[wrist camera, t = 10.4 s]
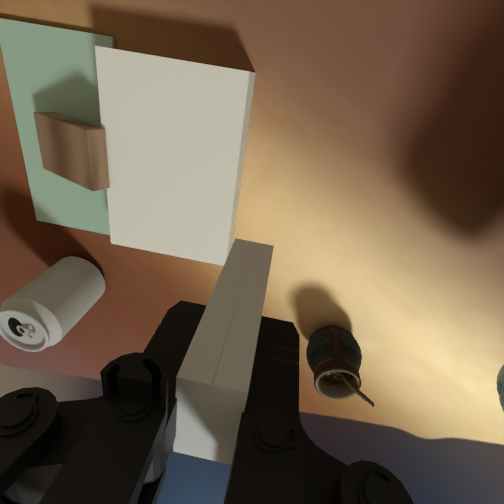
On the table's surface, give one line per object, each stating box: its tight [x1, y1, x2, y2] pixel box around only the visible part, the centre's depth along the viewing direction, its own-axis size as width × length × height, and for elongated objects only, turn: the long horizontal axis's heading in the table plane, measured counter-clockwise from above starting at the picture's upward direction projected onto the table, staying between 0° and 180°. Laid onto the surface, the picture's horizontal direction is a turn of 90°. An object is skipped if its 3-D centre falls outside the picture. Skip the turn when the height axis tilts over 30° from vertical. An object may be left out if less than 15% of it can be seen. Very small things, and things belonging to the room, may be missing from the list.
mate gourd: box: [306, 325, 374, 407], centre depth 41 cm, size 7×8×10 cm
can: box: [0, 256, 105, 352], centre depth 41 cm, size 8×8×12 cm
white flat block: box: [95, 46, 255, 266], centre depth 34 cm, size 14×20×4 cm
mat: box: [0, 18, 115, 235], centre depth 36 cm, size 12×22×1 cm, turn 172°
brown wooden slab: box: [33, 112, 110, 191], centre depth 34 cm, size 9×6×2 cm, turn 82°
